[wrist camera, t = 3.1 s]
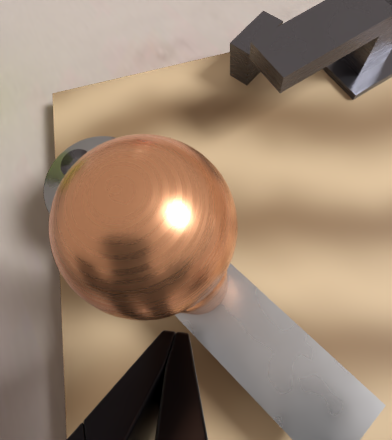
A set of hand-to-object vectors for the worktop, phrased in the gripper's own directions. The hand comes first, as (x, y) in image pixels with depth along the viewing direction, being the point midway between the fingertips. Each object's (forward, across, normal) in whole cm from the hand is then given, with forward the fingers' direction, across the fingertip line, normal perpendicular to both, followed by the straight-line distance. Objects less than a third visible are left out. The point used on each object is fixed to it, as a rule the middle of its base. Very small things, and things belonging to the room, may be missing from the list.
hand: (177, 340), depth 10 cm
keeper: (+16, -5, -7) cm, 18 cm away
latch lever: (+5, +1, +1) cm, 5 cm away
